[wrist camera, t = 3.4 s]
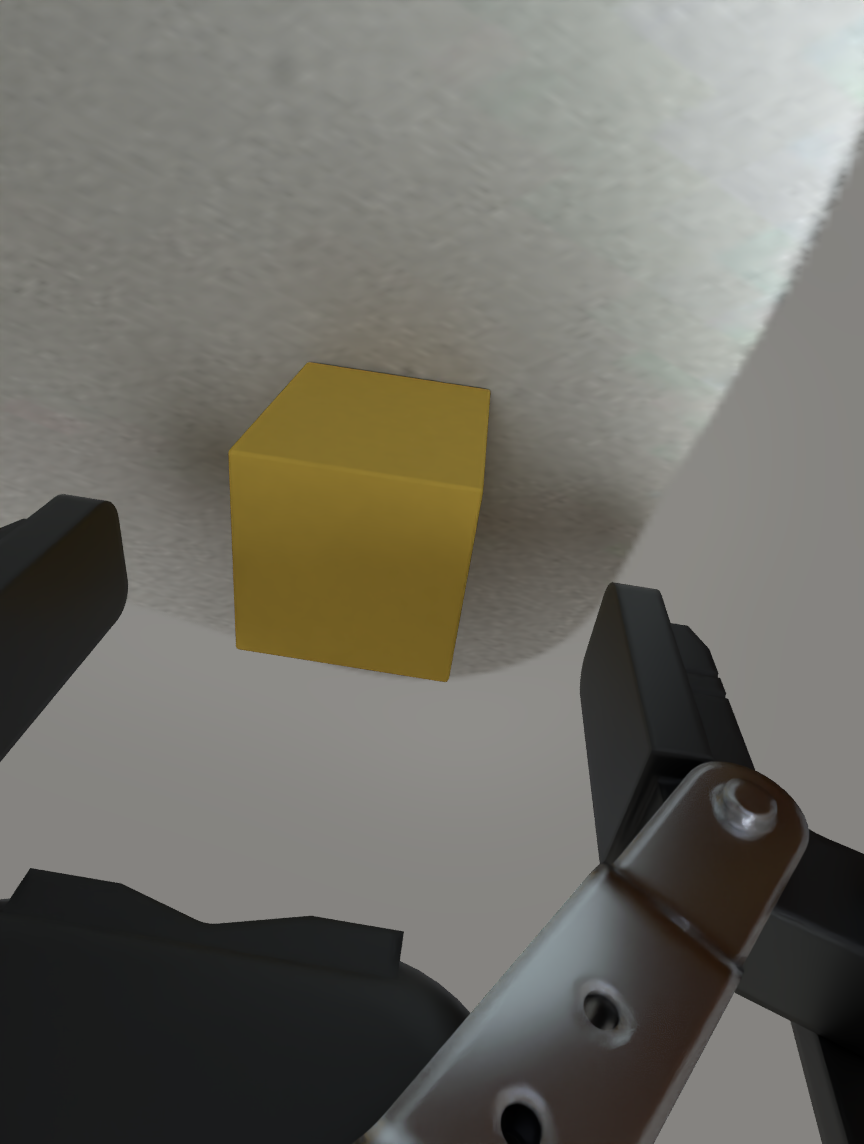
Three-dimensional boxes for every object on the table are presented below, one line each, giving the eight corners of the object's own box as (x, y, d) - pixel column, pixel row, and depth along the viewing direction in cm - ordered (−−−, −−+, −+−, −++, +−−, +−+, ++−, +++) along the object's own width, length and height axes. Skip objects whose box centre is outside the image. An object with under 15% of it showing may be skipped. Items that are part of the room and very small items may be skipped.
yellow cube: (303, 522, 17) (234, 650, 13) (306, 360, 15) (226, 449, 11) (463, 547, 17) (448, 684, 13) (491, 389, 15) (484, 489, 11)
